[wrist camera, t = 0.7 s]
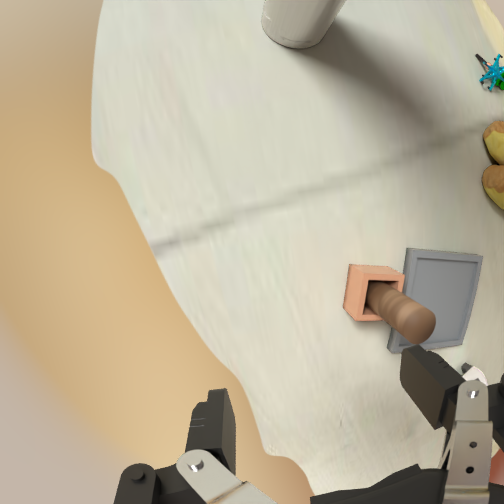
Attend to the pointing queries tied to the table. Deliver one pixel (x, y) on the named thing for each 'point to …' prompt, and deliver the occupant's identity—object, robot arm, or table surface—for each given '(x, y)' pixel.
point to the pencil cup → (358, 288)
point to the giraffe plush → (495, 176)
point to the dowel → (400, 311)
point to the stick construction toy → (493, 72)
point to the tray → (440, 294)
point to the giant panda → (473, 373)
